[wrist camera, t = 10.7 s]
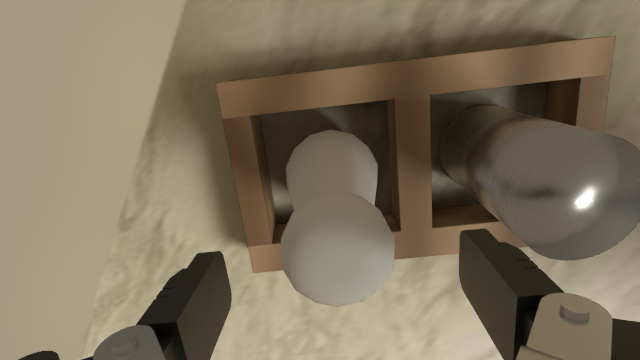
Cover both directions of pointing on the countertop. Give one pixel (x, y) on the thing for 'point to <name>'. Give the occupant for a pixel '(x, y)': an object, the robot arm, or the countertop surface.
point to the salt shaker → (335, 221)
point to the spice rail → (406, 130)
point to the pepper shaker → (546, 179)
